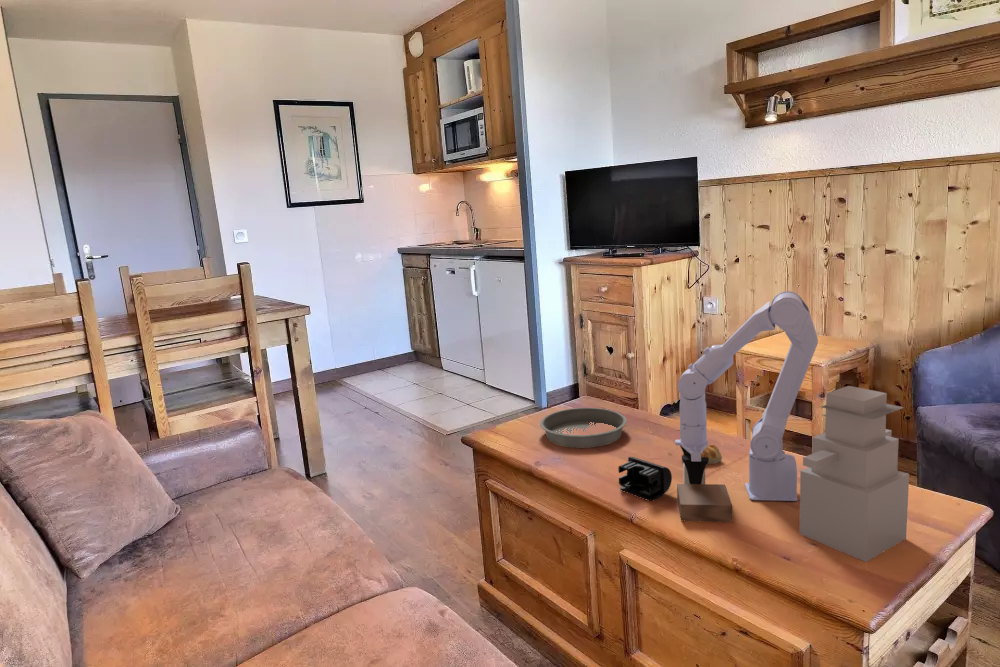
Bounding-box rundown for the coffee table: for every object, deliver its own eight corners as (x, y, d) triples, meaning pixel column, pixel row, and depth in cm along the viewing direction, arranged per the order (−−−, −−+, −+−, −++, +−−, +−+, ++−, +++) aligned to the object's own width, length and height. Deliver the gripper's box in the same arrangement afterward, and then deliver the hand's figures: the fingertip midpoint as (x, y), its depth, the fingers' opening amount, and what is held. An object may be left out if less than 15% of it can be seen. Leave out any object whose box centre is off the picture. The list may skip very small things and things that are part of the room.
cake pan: (528, 429, 195) (528, 415, 194) (603, 416, 202) (602, 402, 201) (560, 457, 172) (559, 440, 171) (643, 441, 179) (642, 425, 178)
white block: (703, 482, 150) (703, 457, 149) (705, 490, 145) (705, 465, 144) (683, 482, 151) (682, 457, 150) (684, 490, 146) (684, 465, 145)
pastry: (690, 469, 158) (690, 454, 157) (676, 459, 165) (675, 445, 164) (724, 463, 160) (724, 448, 160) (709, 453, 167) (709, 439, 166)
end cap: (672, 492, 146) (672, 464, 145) (652, 502, 142) (651, 473, 140) (637, 480, 154) (636, 453, 152) (617, 489, 149) (616, 461, 148)
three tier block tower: (922, 529, 123) (930, 386, 118) (849, 572, 111) (854, 415, 106) (855, 505, 134) (859, 374, 128) (782, 542, 122) (783, 398, 117)
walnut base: (725, 501, 140) (725, 484, 140) (732, 523, 131) (732, 505, 130) (677, 500, 142) (677, 483, 142) (680, 522, 133) (680, 504, 132)
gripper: (673, 412, 153) (674, 466, 156) (676, 433, 139) (677, 492, 142) (704, 412, 152) (705, 467, 154) (710, 433, 138) (711, 493, 140)
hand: (694, 479), depth 148 cm, fingers open, 6 cm apart
